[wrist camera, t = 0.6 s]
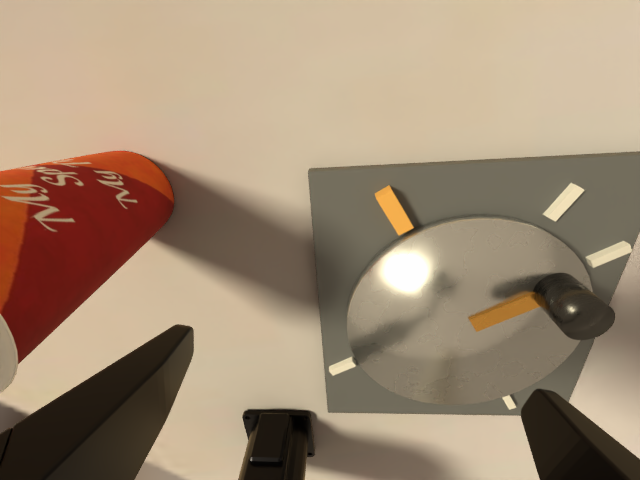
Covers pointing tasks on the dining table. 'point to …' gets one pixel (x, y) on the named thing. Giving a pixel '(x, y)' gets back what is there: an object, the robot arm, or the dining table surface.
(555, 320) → the dial
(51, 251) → the paper cup
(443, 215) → the grey dial base plate
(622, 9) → the dining table surface
